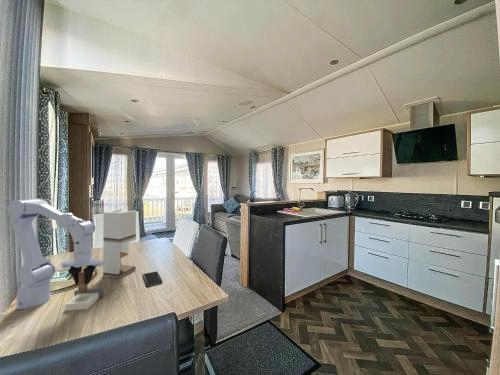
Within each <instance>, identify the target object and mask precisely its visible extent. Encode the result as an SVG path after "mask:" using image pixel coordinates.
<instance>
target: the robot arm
mask: <svg viewBox="0 0 500 375" xmlns="http://www.w3.org/2000/svg"><path fill="white" fill-rule="evenodd" d="M48 203H49V202H48V201H47V200H44V199H42V198H39V197H38V198H31V199H30V198H29V199H14V200H12V201H11V202H9V204H8V206H7V207H6V210H7V214H8V217H9V219H10V223H11V226H12V228H13V231H14V235H15V237H16V240H17V243H18V247H19V248H20V252H21V255H22V258H23V261H24V264H22V266H21V267H20V269H19V270H18V272H19V278H18V279H19V282H20V284H21V285H20V286H19V287H18V289H17V292H16V307H15V308H14V310H15V311H16V310H26V309H28V308H31V307H38V306H40V305H43V304H47V303H48V302H49V301H50V300H51V280H52V279H53V276H54V275H55V274H56V267H55V264H53V263H52V261H51V259H50V258H46V257H45V256H43V252H42V250H41V247H40V244H39V241H38V239H37V238H38V237H37V235H36V232H35V230H34V227H33V223H32V222H33V221H34V220H35V219H37V217H39V215H42V216H44V217H46V218H48V219H51V220H54V221H55V223H56V224H55V225H57V226H59V227H60V228H62V229H65V230H66V231H68V232H69V234H70V236H71V238H72V241H73V260H68V261H63V262H62V263H61V269H65V268H69V269H67V271H68V273H69V275H71V277H72V279H73V281H74V284H75V286H78V273H79V272H81V271H84V274H85V285H87V286H88V284H90V283H91V281H92V280H91V279H92V276H93V274H94V271H95V270H96V267H103V259H102V260H100V259H93V258H92V245H93V244H92V241H93V240H92V239H93V238H92V234H93V233H94V232H95V230H96V225H95V224H94V222H93V221H91V220H83V219H82V218H79V217H77V216H75V215H74V214H73V213H72V212H65V213H63V212H61V210H58V209H56V208H54V207H53V206H51V205H50V204H48ZM83 267H85V268H83Z"/></svg>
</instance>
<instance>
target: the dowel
mask: <svg viewBox="0 0 500 375" xmlns="http://www.w3.org/2000/svg"><path fill="white" fill-rule="evenodd" d="M77 289H78V293H85V292H87V289H88V284H87V285H85V274H84V271H83V270H81V272H79V273H78V285H77Z"/></svg>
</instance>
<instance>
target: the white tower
mask: <svg viewBox="0 0 500 375" xmlns="http://www.w3.org/2000/svg"><path fill="white" fill-rule="evenodd" d="M102 217H103V222H102V223H103V226H102V227H103V232H102V233H103V240H102V242H103V245H102V248H103V251H102V254H103V256H102V257H103V258H102V260H103V265H102V269H103V270H102V271H103V272H102V274H103V275H102V276H103V277H106V278H115V279H122V278H123V277H125V276H127V275H129V274H131V273H132V272H134V271H136V270H137V269H136V265H128V264H122V259H123V258H124V257H127V256H129V255H130V249H129V248H130V246H129V245H130V242H134V241H137V210H134V209H133V210H129V211H123V210H122V209H115V210H108V211H103V216H102Z"/></svg>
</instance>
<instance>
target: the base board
mask: <svg viewBox="0 0 500 375" xmlns="http://www.w3.org/2000/svg"><path fill="white" fill-rule="evenodd" d="M85 293H99V298H98V299H104V297H105V287H102V288H101V287H99V288H87V292H85ZM73 294H74V296H73V298H74V297H75V296H76V295H77V294H80V293H78V288H77V289H75V290H74V293H73Z"/></svg>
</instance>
